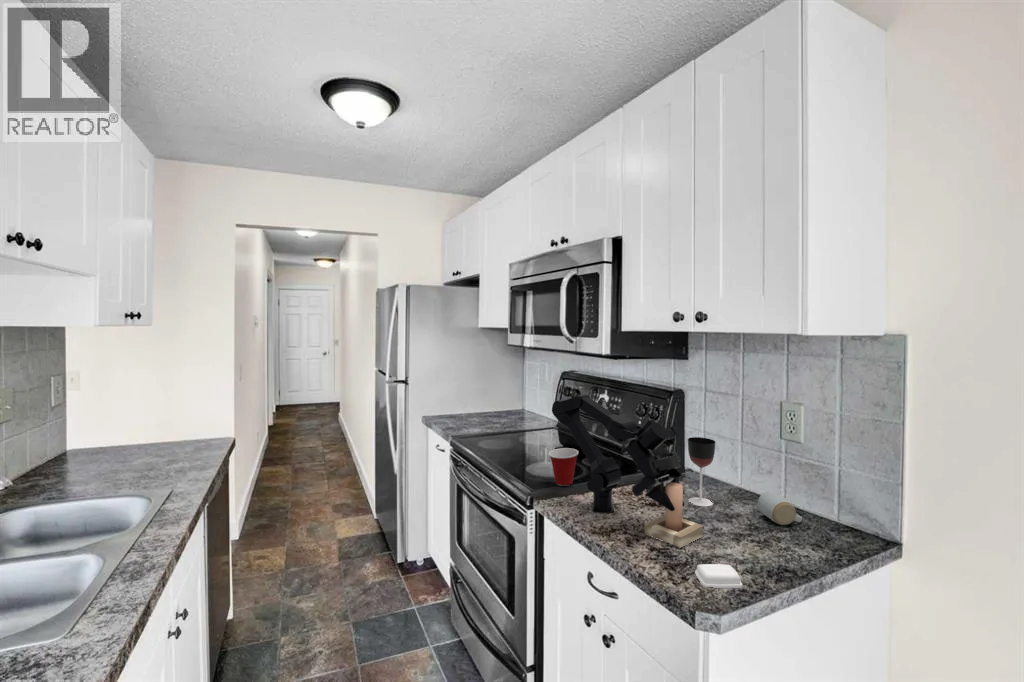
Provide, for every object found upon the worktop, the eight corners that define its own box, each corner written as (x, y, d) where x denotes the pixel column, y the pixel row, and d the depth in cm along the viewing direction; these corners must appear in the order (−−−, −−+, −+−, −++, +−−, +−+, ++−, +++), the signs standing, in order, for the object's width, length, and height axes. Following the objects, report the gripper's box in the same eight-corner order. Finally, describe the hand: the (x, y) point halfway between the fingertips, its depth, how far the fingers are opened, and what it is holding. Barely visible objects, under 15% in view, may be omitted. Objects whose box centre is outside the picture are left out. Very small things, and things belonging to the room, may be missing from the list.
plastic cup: (543, 481, 177) (543, 448, 177) (570, 478, 180) (570, 446, 180) (555, 491, 167) (555, 456, 166) (583, 487, 170) (583, 454, 170)
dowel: (663, 526, 135) (664, 482, 134) (679, 527, 134) (680, 482, 134) (667, 533, 130) (667, 487, 130) (683, 534, 130) (684, 488, 129)
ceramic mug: (772, 527, 137) (773, 500, 137) (756, 515, 146) (757, 490, 145) (808, 526, 138) (810, 500, 138) (790, 515, 146) (791, 490, 146)
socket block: (644, 534, 133) (644, 523, 133) (667, 523, 140) (667, 513, 140) (680, 548, 125) (681, 537, 125) (703, 536, 132) (703, 525, 132)
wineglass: (698, 508, 151) (699, 444, 150) (681, 498, 160) (682, 438, 159) (720, 505, 153) (721, 442, 152) (702, 495, 162) (703, 436, 161)
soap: (731, 573, 113) (732, 561, 113) (744, 590, 106) (745, 577, 106) (692, 573, 114) (693, 561, 113) (703, 589, 107) (703, 576, 107)
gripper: (641, 449, 128) (678, 502, 120) (680, 437, 140) (716, 485, 132) (617, 471, 135) (651, 522, 127) (656, 458, 147) (689, 505, 139)
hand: (678, 508), depth 131 cm, fingers closed on dowel, 4 cm apart
